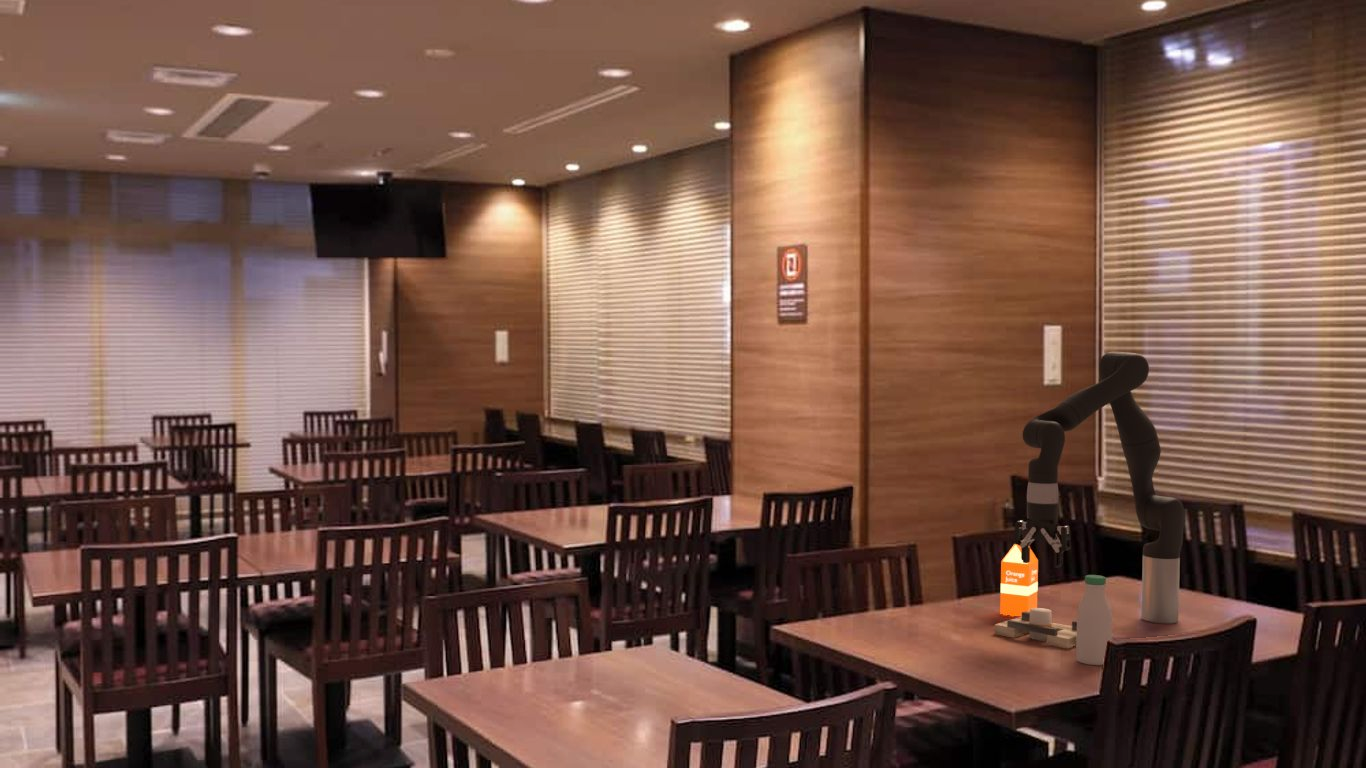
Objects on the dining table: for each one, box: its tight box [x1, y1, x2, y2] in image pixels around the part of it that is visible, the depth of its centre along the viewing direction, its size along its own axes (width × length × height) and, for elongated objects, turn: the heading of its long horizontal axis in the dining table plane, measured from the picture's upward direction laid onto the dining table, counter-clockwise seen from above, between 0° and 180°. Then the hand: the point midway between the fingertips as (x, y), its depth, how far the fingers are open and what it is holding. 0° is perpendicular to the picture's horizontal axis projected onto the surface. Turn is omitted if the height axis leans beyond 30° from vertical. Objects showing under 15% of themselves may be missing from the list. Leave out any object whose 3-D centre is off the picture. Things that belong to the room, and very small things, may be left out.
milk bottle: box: [1075, 574, 1113, 666], centre depth 281 cm, size 8×8×20 cm
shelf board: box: [994, 611, 1077, 649], centre depth 305 cm, size 13×20×4 cm, turn 45°
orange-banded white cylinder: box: [1028, 607, 1053, 641], centre depth 304 cm, size 5×5×7 cm
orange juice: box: [999, 538, 1039, 617], centre depth 331 cm, size 8×9×20 cm
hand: (1041, 564), depth 303 cm, fingers open, 8 cm apart
